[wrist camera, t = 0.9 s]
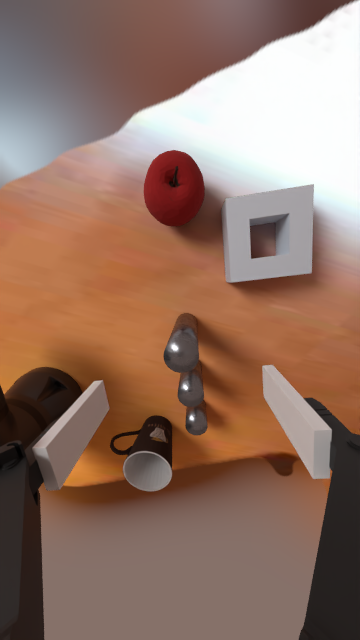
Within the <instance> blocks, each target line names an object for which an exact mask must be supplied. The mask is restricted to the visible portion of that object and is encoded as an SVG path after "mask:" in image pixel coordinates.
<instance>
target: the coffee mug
mask: <svg viewBox="0 0 360 640" xmlns="http://www.w3.org/2000/svg"><path fill="white" fill-rule="evenodd" d="M135 434H139V435H138V436H137V438H136V440H135V442H134V444H133V446H131V447H130V448H128V449H127V450H124V451H121V450H118V449H116V448H115V447H114V444H113V442H114V440H116V439H117V438H119V437H122V436H128V435H135ZM110 448H111V450H112V451H113V452H114V453H116V454H118V455H126V454H127V455H128V456H127V458H126V460H125V462H124V465H123V473H124V476H125V478H126V479H127V481H128V482H129V483H130V484H131V485H133V486H134V487H136V488H138V489H141V490H144V491H156V490H160V489H162V488H164V487H166V486H167V485H168V484H169V482H170V480H171V478H172V426H171V423H170V422H169V421H168V420H167V419H166V418H164V417H162V416H151V417H149V418H148V419H147V420H146V421H145V423H144V425H143V427H142V429H140V430H139V431H133V432H126V433H121V434H118V435H116V436H115V437H113V438H112V440H111V443H110Z"/></svg>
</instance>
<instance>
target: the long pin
mask: <svg viewBox="0 0 360 640" xmlns="http://www.w3.org/2000/svg"><path fill="white" fill-rule="evenodd" d="M198 360H199V351H198V332H197V320H196V318H195V317H194V316H193V315H192V314H189V313H184V314H181V315H180V316H179V317H178V318H177V321H176V323H175V326H174V328H173V331H172V333H171V336H170V338H169V341H168V343H167V346H166V348H165V351H164V361H165V363H166V365H167V366H168V367H169V368H170V369H171V370H173V371H175V372H179V373H184V372H188V371H190V370H192V369H193V368H194V367H195V366H196V365H197V363H198Z"/></svg>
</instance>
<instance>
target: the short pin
mask: <svg viewBox="0 0 360 640" xmlns="http://www.w3.org/2000/svg"><path fill="white" fill-rule="evenodd" d="M186 429H187V431H188V432H189V433H190V434H193V435H201V434H203V433H205V432H206V430H207V415H206V404H205V401H204V400H203V401H202V402H201V403H200V404H199V405H197V406H195V407H188V406H187V409H186Z"/></svg>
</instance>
